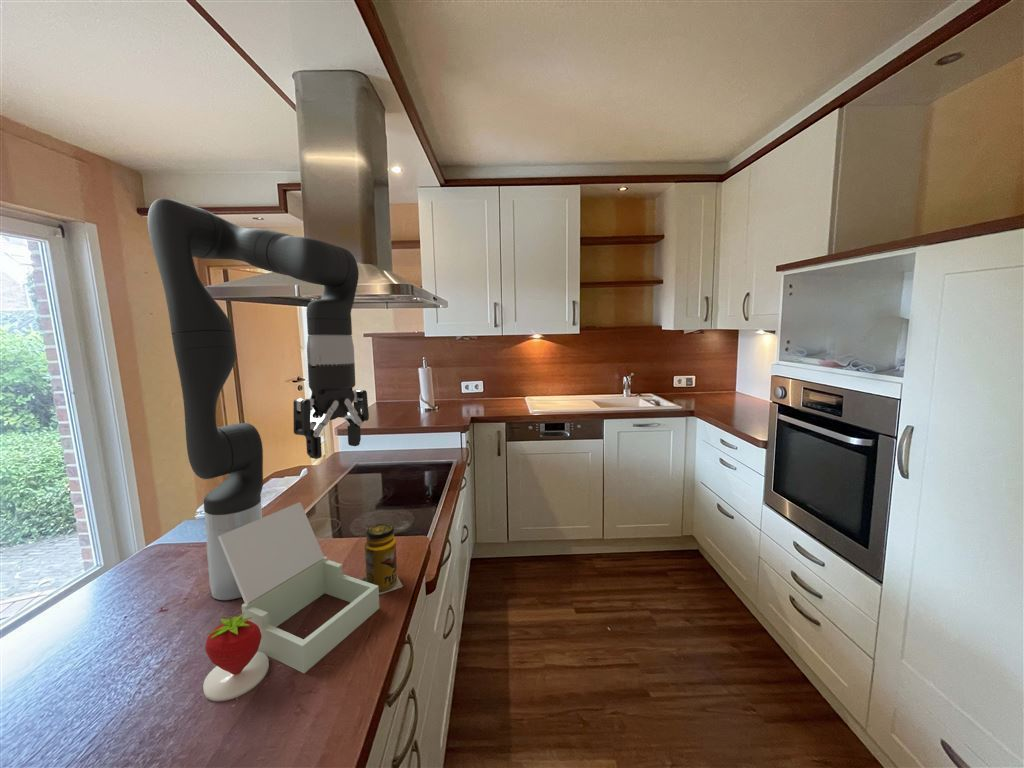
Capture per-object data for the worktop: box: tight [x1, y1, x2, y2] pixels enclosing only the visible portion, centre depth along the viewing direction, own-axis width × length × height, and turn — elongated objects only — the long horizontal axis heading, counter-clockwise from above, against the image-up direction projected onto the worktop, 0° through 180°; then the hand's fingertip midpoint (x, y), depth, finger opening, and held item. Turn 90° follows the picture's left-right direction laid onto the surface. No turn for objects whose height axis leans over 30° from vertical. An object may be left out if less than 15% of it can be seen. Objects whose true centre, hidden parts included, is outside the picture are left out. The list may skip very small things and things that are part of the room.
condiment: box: [358, 523, 404, 595], centre depth 81 cm, size 7×8×12 cm
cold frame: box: [218, 501, 380, 674], centre depth 70 cm, size 20×16×18 cm
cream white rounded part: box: [202, 651, 270, 702], centre depth 59 cm, size 8×8×1 cm
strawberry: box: [205, 613, 262, 675], centre depth 58 cm, size 6×8×10 cm
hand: (335, 451), depth 71 cm, fingers open, 8 cm apart
